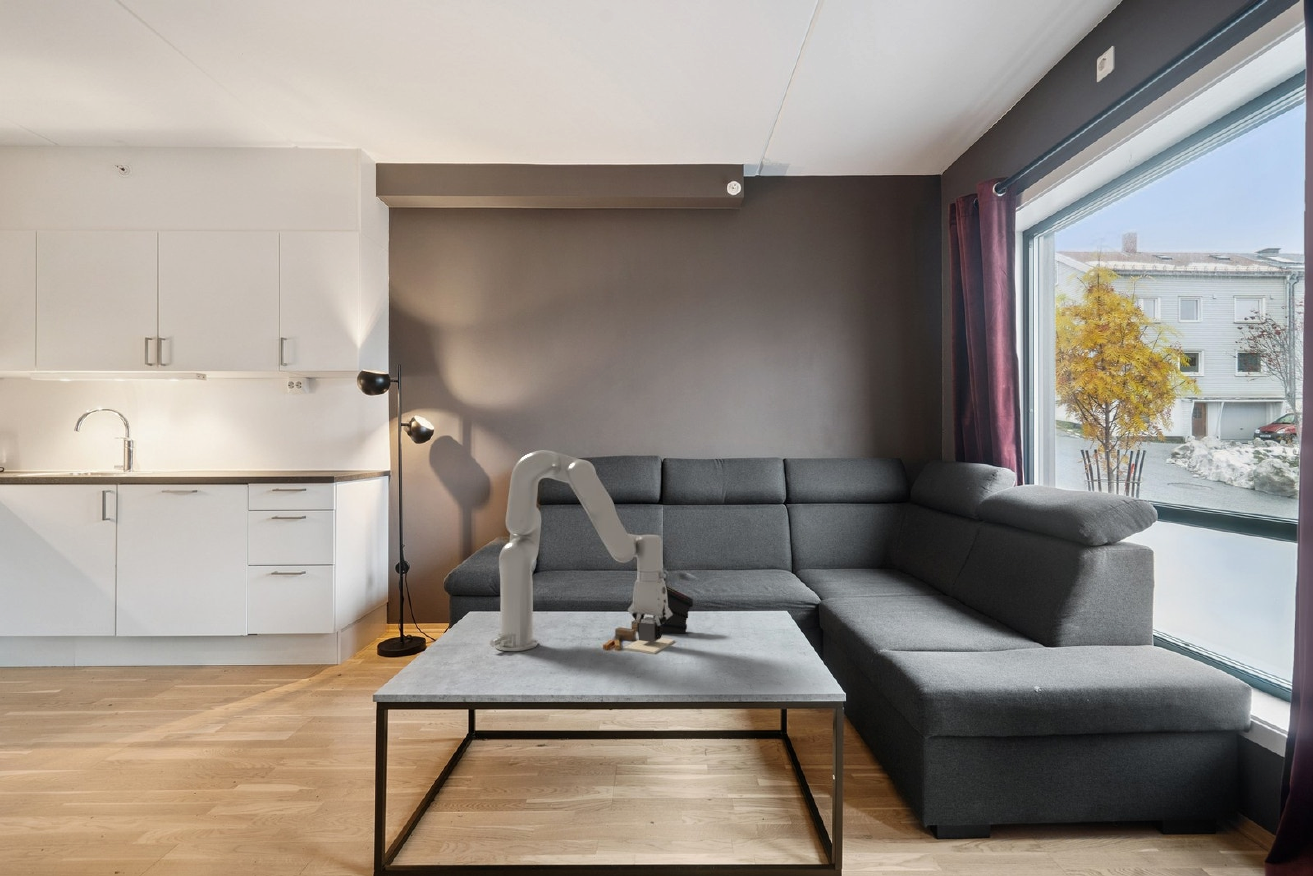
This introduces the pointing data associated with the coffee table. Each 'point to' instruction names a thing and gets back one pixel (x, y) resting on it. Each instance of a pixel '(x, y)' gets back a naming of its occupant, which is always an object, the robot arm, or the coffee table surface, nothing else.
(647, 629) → the grey box
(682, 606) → the black layered block
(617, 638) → the cutter
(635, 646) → the mat
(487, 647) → the coffee table surface
